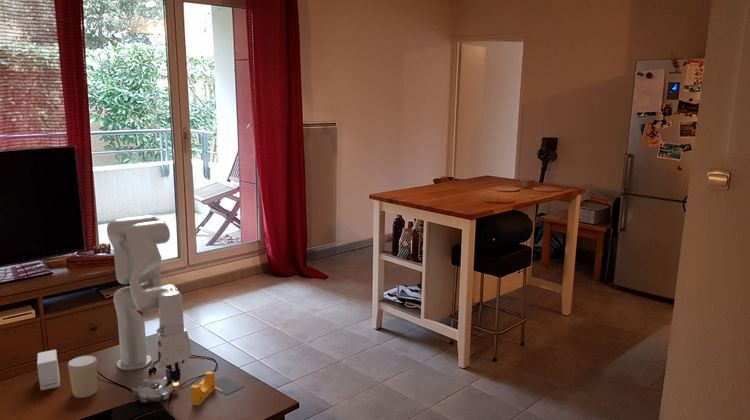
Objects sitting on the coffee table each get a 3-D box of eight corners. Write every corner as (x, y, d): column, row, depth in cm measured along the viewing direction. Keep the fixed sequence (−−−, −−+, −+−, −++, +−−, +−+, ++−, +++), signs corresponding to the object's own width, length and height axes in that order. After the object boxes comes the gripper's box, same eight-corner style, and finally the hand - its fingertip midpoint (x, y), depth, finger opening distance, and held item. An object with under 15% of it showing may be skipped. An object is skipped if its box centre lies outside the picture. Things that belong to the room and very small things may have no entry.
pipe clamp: (204, 387, 212) (202, 370, 211) (215, 388, 211) (214, 371, 210) (187, 404, 200) (185, 386, 199) (198, 405, 199) (197, 388, 198)
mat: (206, 384, 214) (206, 384, 214) (224, 376, 220) (224, 376, 220) (226, 395, 207) (226, 394, 206) (244, 386, 213) (244, 386, 213)
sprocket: (151, 379, 215) (149, 361, 213) (185, 384, 211) (184, 366, 210) (124, 399, 200) (122, 380, 199) (160, 405, 197) (159, 386, 196)
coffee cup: (105, 388, 210) (102, 357, 208) (85, 400, 202) (82, 368, 199) (85, 384, 213) (82, 353, 211) (64, 396, 205) (61, 364, 202)
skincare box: (39, 378, 217) (37, 352, 215) (59, 374, 220) (56, 348, 218) (39, 391, 208) (36, 363, 206) (59, 386, 211) (57, 359, 209)
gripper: (157, 337, 184) (161, 391, 188) (198, 324, 196) (201, 375, 199) (144, 332, 189) (148, 384, 192) (185, 319, 200) (188, 369, 204)
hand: (175, 379), depth 196 cm, fingers closed
